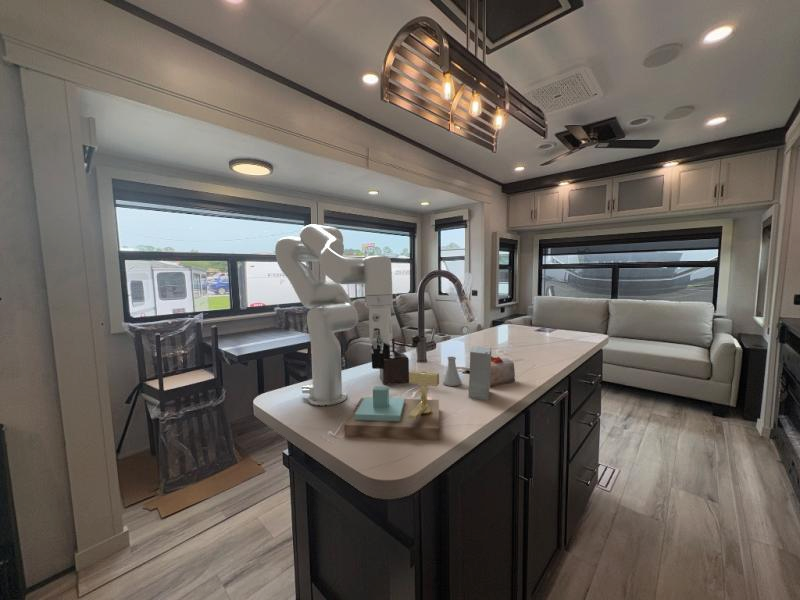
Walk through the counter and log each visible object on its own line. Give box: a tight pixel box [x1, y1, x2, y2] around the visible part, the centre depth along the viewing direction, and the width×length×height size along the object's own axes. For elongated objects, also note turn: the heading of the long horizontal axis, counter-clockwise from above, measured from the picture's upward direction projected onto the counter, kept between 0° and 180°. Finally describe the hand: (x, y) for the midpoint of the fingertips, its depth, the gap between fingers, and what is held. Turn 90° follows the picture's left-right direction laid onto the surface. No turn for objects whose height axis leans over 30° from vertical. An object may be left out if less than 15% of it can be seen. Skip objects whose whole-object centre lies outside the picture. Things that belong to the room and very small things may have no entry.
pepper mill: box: [379, 334, 422, 386], centre depth 123 cm, size 16×11×18 cm
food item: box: [490, 356, 516, 388], centre depth 117 cm, size 14×8×10 cm, turn 116°
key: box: [408, 369, 440, 420], centre depth 82 cm, size 11×8×11 cm
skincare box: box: [468, 345, 492, 400], centre depth 105 cm, size 8×7×16 cm
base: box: [343, 397, 440, 441], centre depth 87 cm, size 24×18×3 cm
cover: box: [355, 385, 406, 421], centre depth 87 cm, size 12×12×6 cm
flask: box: [441, 356, 462, 387], centre depth 117 cm, size 7×7×10 cm
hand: (381, 363), depth 86 cm, fingers open, 9 cm apart
